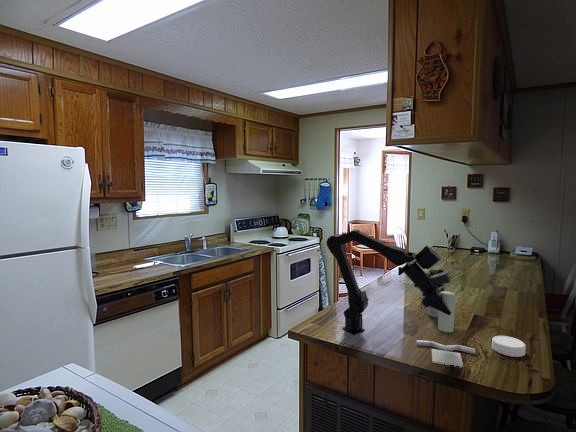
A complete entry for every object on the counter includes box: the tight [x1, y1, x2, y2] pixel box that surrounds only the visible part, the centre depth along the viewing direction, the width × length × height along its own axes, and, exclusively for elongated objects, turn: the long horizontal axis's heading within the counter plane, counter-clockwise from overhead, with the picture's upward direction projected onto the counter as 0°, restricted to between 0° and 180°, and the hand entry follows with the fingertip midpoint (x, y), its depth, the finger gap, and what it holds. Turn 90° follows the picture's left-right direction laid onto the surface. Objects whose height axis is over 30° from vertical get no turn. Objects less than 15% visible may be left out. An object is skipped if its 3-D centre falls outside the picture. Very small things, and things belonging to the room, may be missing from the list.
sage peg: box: [437, 290, 456, 333], centre depth 123 cm, size 5×5×13 cm
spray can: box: [427, 269, 446, 319], centre depth 155 cm, size 7×7×20 cm
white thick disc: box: [491, 335, 526, 358], centre depth 122 cm, size 10×10×4 cm
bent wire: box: [415, 339, 476, 355], centre depth 123 cm, size 19×4×2 cm, turn 70°
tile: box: [431, 348, 464, 368], centre depth 116 cm, size 9×9×1 cm
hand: (450, 311), depth 122 cm, fingers closed on sage peg, 5 cm apart
